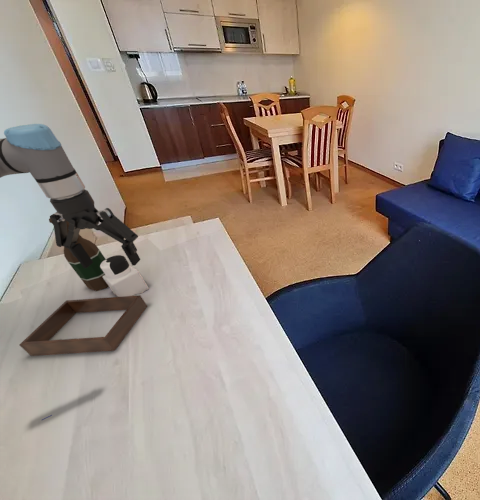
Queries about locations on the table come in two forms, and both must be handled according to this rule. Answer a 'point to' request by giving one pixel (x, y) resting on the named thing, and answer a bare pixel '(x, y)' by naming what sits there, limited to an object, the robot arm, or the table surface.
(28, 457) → the table surface
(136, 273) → the medicine bottle
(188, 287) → the table surface
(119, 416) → the table surface
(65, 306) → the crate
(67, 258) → the beer bottle
